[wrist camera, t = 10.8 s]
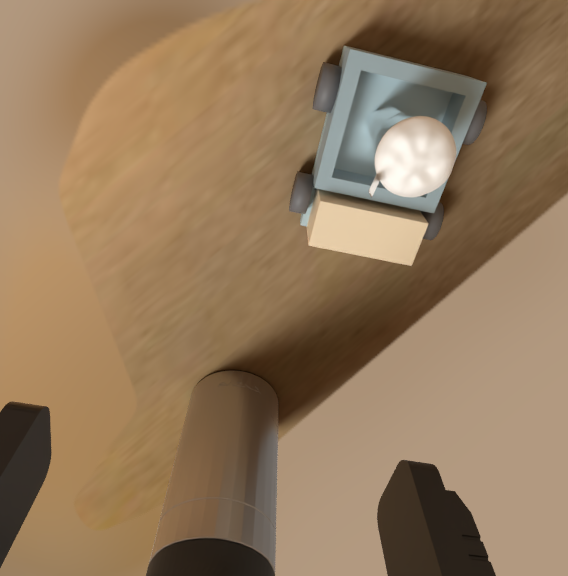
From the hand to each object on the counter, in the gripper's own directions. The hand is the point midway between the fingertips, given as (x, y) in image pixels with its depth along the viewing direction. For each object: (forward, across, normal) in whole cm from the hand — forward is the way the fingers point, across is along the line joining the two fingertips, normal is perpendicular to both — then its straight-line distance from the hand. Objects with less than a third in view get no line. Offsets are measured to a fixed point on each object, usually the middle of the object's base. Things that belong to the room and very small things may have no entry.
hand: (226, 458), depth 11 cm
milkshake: (+27, -8, -4) cm, 29 cm away
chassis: (+28, -9, -2) cm, 30 cm away
